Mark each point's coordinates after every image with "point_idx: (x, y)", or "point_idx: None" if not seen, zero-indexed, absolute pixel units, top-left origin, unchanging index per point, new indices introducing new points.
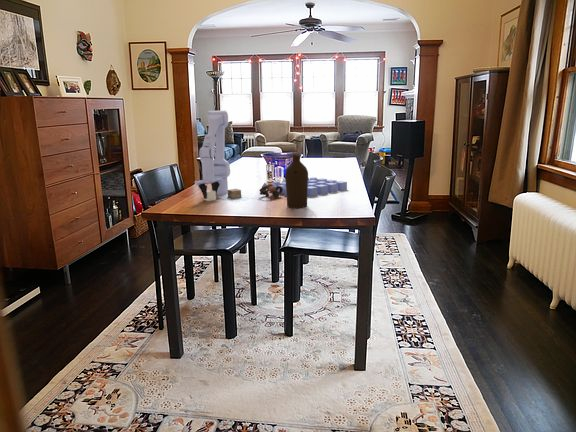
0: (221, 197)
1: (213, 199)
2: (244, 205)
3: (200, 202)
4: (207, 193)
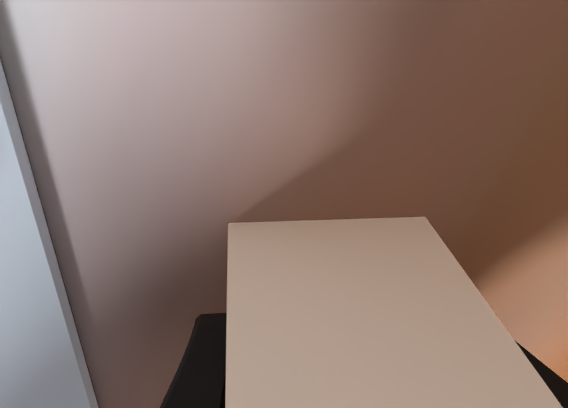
0: (29, 349)
1: (298, 240)
2: None
3: (551, 255)
4: (530, 372)
